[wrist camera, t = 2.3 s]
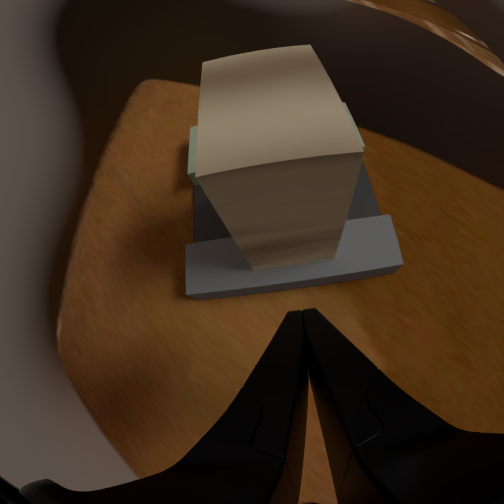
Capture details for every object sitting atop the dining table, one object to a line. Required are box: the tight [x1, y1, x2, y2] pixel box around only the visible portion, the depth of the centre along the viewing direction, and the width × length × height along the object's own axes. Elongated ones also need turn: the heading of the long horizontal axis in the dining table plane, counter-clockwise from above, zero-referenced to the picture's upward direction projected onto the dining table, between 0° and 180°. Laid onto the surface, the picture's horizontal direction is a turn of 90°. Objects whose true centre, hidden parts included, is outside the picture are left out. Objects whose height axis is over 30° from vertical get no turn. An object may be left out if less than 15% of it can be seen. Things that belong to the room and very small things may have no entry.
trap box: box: [185, 103, 403, 300], centre depth 20 cm, size 15×14×2 cm
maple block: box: [195, 45, 364, 271], centre depth 13 cm, size 7×5×10 cm
